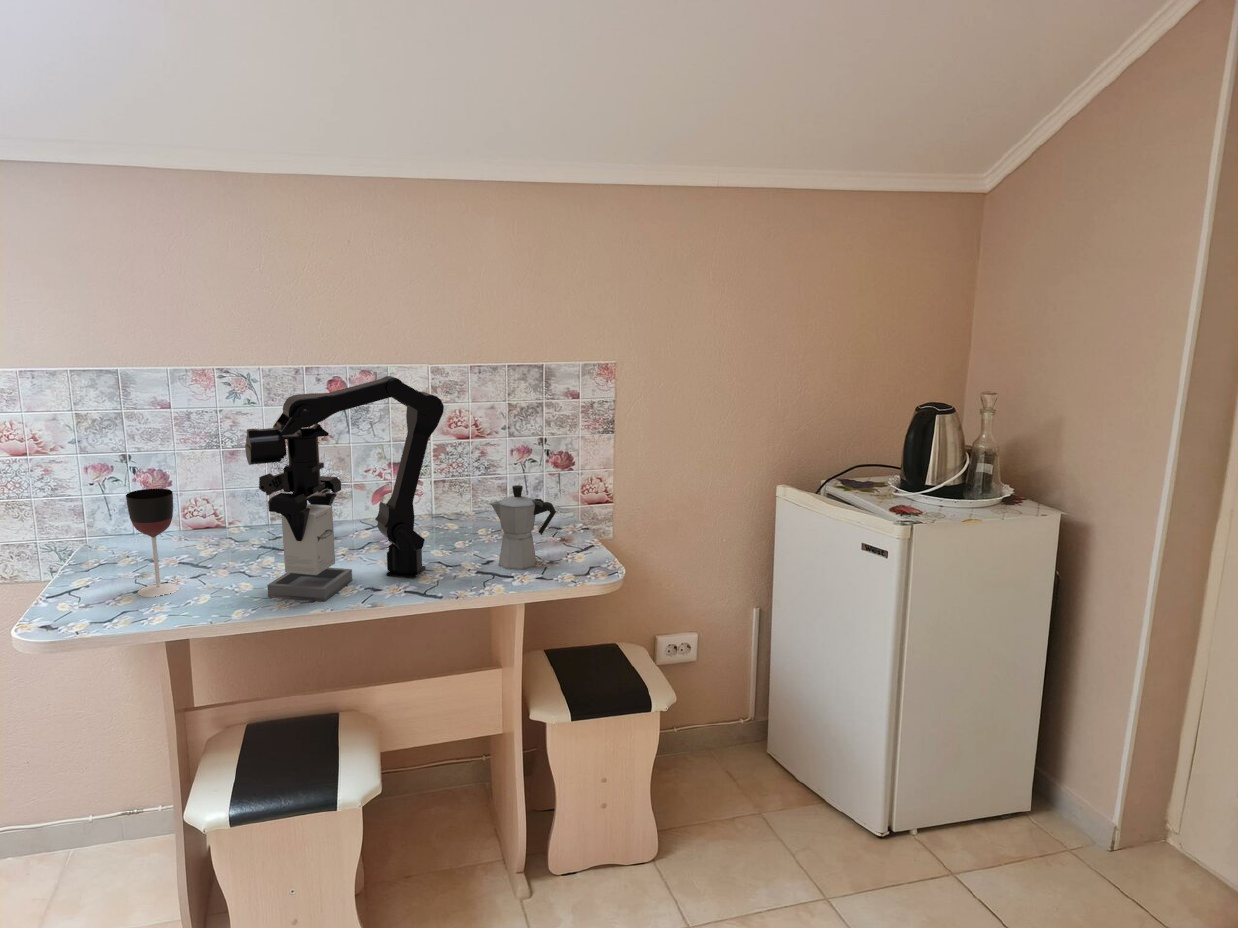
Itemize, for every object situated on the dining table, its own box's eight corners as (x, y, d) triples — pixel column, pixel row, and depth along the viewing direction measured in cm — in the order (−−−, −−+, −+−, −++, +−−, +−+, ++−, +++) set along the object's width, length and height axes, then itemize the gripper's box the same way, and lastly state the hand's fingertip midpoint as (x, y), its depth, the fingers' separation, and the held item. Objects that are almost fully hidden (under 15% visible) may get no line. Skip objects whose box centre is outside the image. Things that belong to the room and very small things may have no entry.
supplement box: (317, 576, 171) (314, 514, 168) (283, 572, 172) (279, 512, 170) (336, 563, 178) (333, 504, 175) (304, 561, 180) (300, 502, 177)
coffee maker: (485, 569, 190) (485, 489, 186) (492, 556, 199) (492, 480, 195) (553, 571, 190) (553, 492, 186) (557, 558, 198) (558, 482, 194)
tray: (352, 580, 181) (351, 569, 181) (325, 601, 169) (324, 589, 169) (298, 576, 183) (298, 565, 182) (268, 596, 171) (267, 584, 171)
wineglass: (169, 579, 179) (160, 486, 175) (188, 590, 174) (180, 493, 169) (128, 589, 173) (118, 493, 169) (147, 600, 168) (137, 501, 163)
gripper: (290, 448, 180) (295, 519, 184) (239, 467, 162) (245, 546, 166) (340, 450, 179) (344, 523, 182) (294, 470, 161) (299, 550, 164)
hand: (308, 535), depth 174 cm, fingers closed on supplement box, 7 cm apart
